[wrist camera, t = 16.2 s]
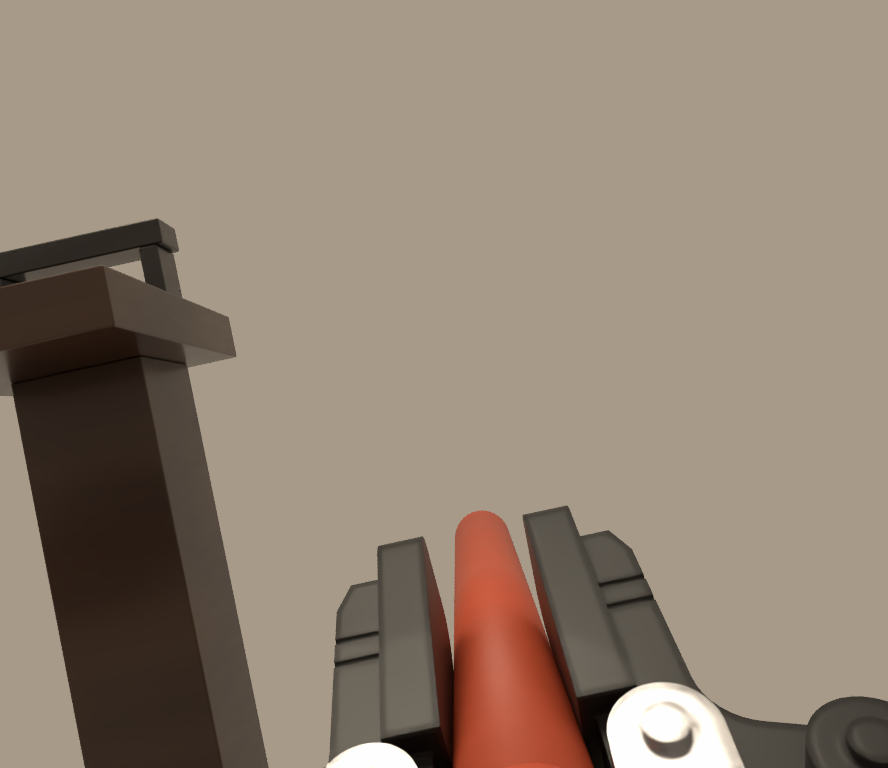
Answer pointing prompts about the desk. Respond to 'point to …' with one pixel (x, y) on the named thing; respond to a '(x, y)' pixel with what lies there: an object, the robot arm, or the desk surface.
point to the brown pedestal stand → (128, 498)
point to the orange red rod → (505, 662)
